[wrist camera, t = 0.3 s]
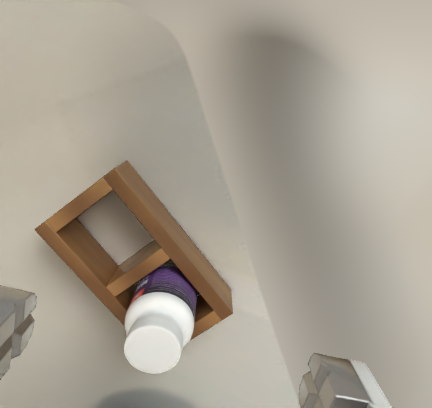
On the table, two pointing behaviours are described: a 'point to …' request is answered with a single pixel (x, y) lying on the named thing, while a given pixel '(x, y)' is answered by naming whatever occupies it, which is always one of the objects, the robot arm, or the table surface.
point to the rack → (141, 261)
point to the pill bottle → (160, 319)
